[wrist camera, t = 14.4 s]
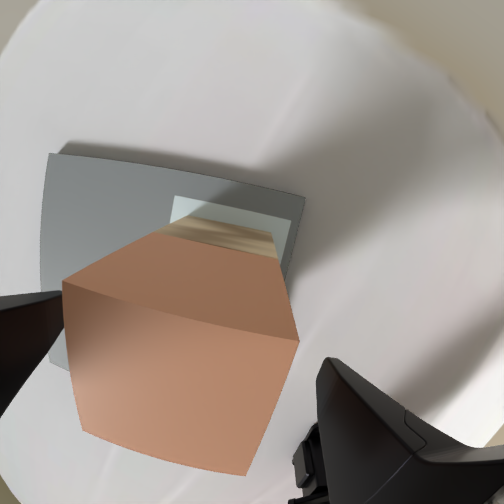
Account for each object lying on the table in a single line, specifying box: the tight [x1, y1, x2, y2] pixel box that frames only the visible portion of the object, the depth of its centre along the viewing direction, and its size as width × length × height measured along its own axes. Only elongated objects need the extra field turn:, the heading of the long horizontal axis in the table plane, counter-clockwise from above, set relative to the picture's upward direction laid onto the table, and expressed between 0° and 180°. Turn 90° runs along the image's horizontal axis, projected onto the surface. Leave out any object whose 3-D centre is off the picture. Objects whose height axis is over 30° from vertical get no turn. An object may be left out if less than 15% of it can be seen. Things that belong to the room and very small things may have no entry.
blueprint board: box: [40, 153, 305, 372], centre depth 19 cm, size 18×18×1 cm
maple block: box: [154, 215, 278, 260], centre depth 14 cm, size 5×5×6 cm
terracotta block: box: [62, 232, 300, 476], centre depth 9 cm, size 5×5×6 cm
